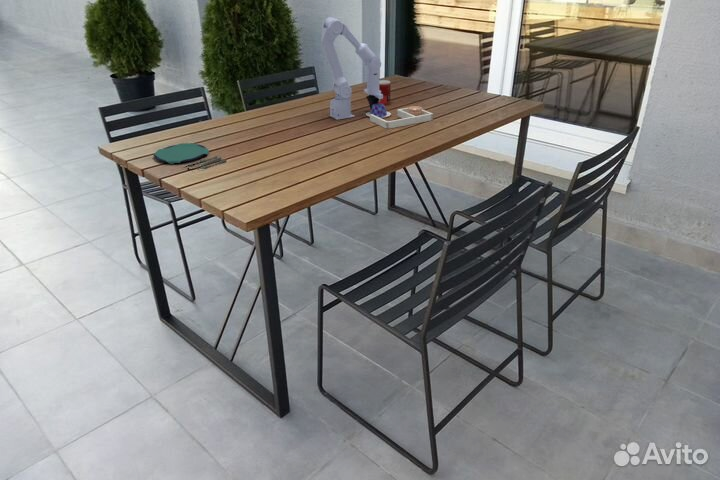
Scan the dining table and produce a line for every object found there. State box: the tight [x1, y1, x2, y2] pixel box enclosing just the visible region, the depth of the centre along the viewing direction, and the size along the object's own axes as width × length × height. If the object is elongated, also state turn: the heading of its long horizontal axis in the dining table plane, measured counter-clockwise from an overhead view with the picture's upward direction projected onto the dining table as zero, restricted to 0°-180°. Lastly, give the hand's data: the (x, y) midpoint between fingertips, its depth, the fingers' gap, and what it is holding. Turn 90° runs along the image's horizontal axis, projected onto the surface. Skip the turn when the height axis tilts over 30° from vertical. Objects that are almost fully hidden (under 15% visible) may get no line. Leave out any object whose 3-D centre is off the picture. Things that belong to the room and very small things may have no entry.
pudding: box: [365, 103, 392, 119], centre depth 259 cm, size 12×12×5 cm
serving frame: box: [369, 107, 434, 130], centre depth 252 cm, size 25×15×3 cm, turn 119°
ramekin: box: [407, 105, 423, 116], centre depth 254 cm, size 7×7×5 cm
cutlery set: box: [153, 142, 227, 170], centre depth 212 cm, size 20×30×2 cm, turn 46°
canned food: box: [378, 79, 391, 106], centre depth 277 cm, size 8×8×11 cm
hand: (373, 110), depth 264 cm, fingers closed
